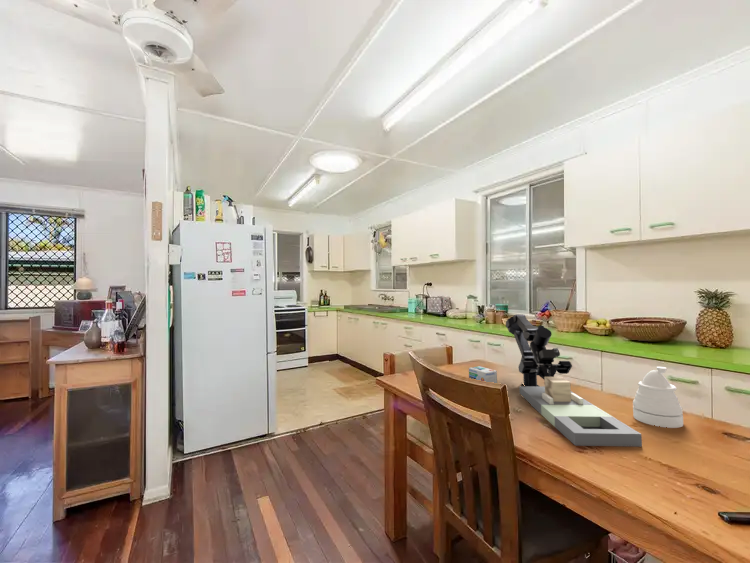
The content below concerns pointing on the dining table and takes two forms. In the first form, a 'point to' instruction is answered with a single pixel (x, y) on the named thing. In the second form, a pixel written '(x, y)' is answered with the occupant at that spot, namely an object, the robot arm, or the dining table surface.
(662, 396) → the honey pot
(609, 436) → the platform
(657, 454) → the dining table surface
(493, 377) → the light bulb box
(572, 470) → the dining table surface
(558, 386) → the maple block
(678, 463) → the dining table surface
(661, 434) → the dining table surface
